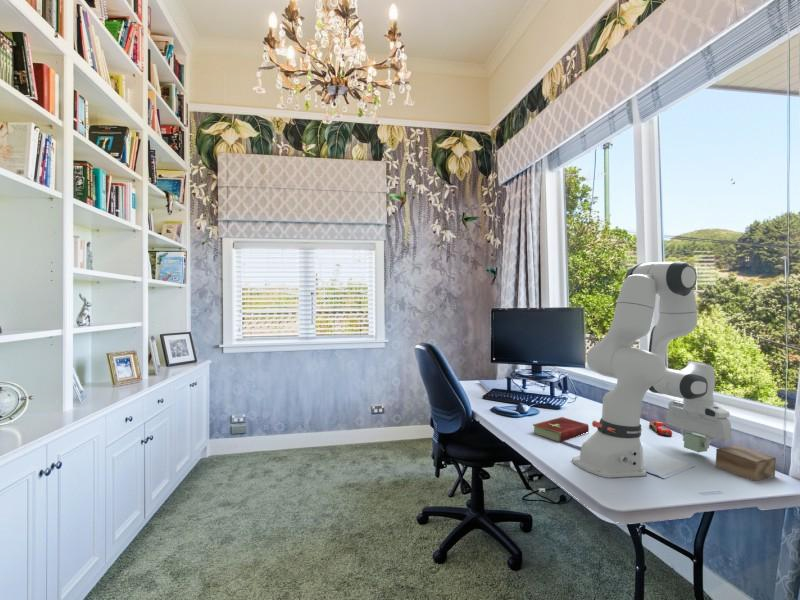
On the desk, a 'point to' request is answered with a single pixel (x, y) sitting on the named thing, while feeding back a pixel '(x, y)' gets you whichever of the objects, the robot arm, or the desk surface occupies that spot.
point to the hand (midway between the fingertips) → (695, 444)
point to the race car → (660, 428)
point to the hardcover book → (560, 429)
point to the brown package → (745, 462)
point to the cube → (694, 442)
